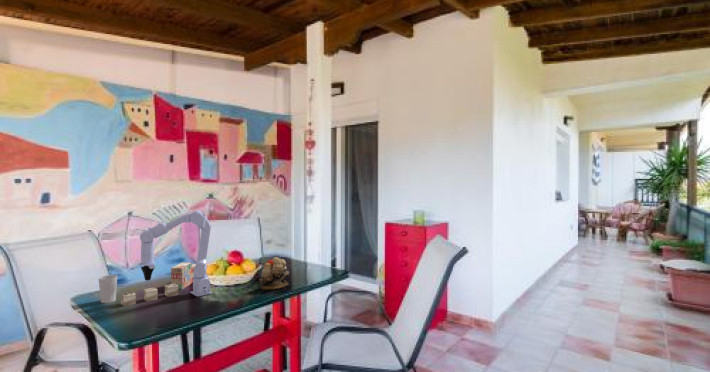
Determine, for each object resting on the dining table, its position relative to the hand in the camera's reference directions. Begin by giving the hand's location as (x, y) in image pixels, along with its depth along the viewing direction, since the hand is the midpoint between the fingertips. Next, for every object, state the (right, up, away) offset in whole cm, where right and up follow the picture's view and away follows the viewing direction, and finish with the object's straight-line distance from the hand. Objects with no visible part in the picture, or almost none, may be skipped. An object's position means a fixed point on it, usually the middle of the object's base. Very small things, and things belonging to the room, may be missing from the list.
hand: (147, 280), depth 190 cm
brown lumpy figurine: (+61, -9, +21) cm, 65 cm away
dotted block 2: (+9, -9, +6) cm, 14 cm away
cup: (-18, -10, -4) cm, 20 cm away
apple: (+55, -9, +40) cm, 69 cm away
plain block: (+2, -10, -1) cm, 10 cm away
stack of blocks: (+8, -9, +26) cm, 28 cm away
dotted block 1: (-5, -10, -8) cm, 14 cm away
